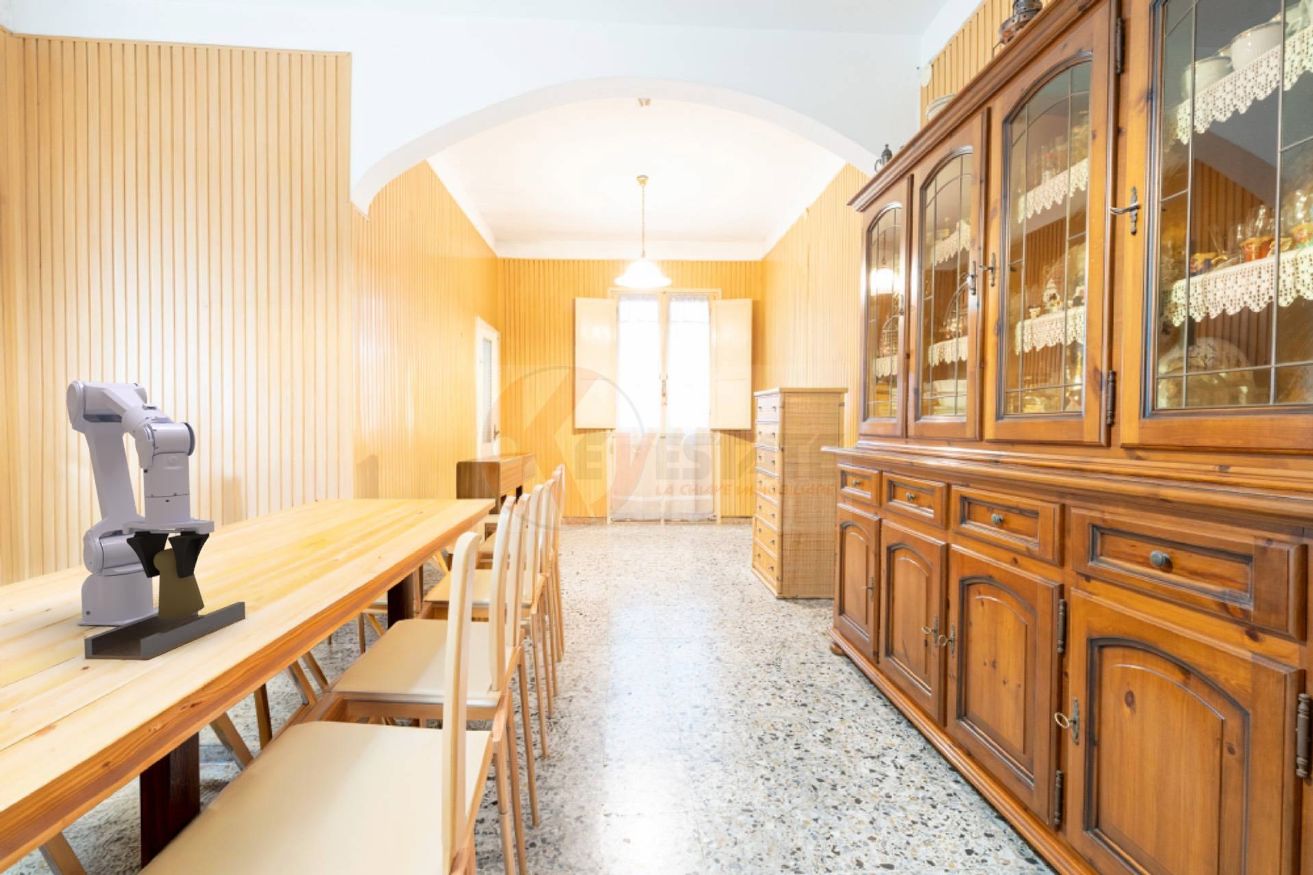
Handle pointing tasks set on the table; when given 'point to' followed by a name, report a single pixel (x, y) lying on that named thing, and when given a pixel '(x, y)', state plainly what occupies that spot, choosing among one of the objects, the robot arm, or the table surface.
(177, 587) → the olive knobbed tapered piece
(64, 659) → the table surface
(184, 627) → the rail
